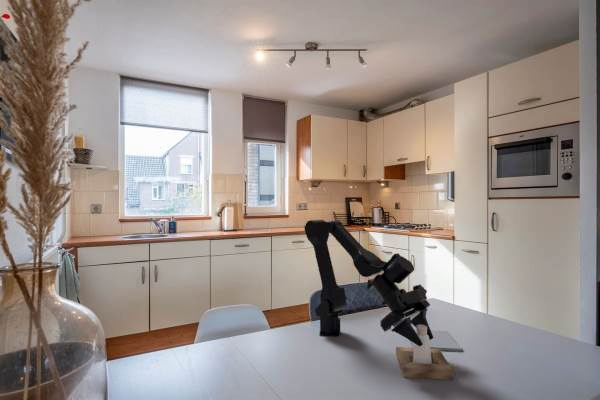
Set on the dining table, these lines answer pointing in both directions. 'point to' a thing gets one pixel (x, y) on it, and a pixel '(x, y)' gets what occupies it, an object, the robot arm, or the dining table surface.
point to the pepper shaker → (422, 347)
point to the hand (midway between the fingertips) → (426, 342)
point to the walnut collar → (424, 365)
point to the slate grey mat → (442, 341)
